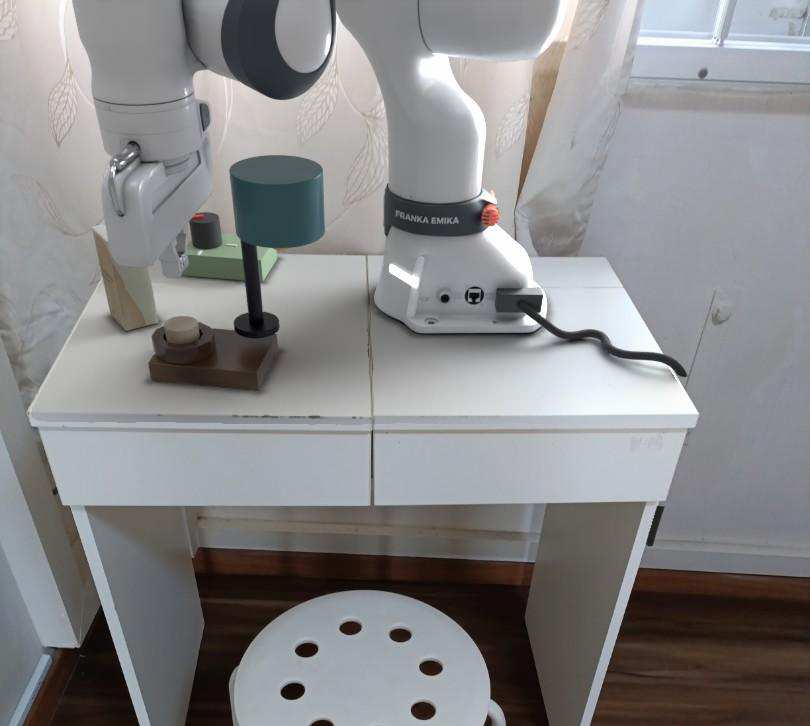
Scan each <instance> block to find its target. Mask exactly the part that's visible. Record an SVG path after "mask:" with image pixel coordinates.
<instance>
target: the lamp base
mask: <svg viewBox="0 0 810 726" xmlns="http://www.w3.org/2000/svg"><path fill="white" fill-rule="evenodd" d="M198 326H199V333H200V339H199V340H196V341H194V342H192V343H187V344H172V343H169V342H167V340H166V335H165V329H164V325H162V326H160V327H158V328H156V330H155V331H154V332H153V333H152V334H151V343H152V346H153V347H152V348H153V351H154V353H153V355H152V357H150V359H149V361H148V362H147V366H148V370H149V375H150V380H151V381H154V382H164V383H174V384H185V385H195V386H196V385H197V386H208V387H217V388H218V387H219V388H229V389H238V390H248V391H249V390H250V391H259V390H260V388H261V386H262V384H263V382H264V381H265V378H266V377H267V374H268V373H269V370H270V368H271V366H272V364H273V362H274V360H275V358H276V356H277V354H278V352H279V345H278V334H277V333H275V334H274V335H272V336H269V337H265V338H246V337H243V336H240V335H238V334H237V333H236V332H235V330H234V329H227V328H226V329H225V328H214V327H211V326H209V325H207V324H205V323H203V322H200V321H198Z"/></svg>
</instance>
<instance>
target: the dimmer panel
mask: <svg viewBox="0 0 810 726" xmlns="http://www.w3.org/2000/svg"><path fill="white" fill-rule="evenodd" d="M221 236H222V245H220V246H219V247H216V248H212V249H200V248H196V247H194V246H193V244H192V240H190V241H189V240H188V244H187V256H188V262H189V264H188V266H187V268H186V269H185V270H184V271H183V273H182V274H183V276H185V277H195V278H206V279H207V278H210V279H220V280H233V281H244V282H245V278H244V269H243V259H242V250H241V240H240V239H239V237H238V236H237V234H233V233H232V234H231V233H221ZM257 254H258V264H259V275H260V283H263V282H265V279H266V278H267V276H268V275H269V273H270V271H271V270H272V268H273V266H274V265H275V263H276V261H277V260H278V251H276V250H274V249H273V248H266V247H259V246H257Z"/></svg>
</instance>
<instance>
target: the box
mask: <svg viewBox="0 0 810 726" xmlns="http://www.w3.org/2000/svg"><path fill="white" fill-rule="evenodd" d="M91 232H92V235H93V240H94V245H95V249H96V254H97V258H98V264H99V267H100V272H101V276H102V281H103V286H104V290H105V296H106V299H107V304H108V309H109V314H110V316H111V317H112V319H114V320H115V322H116V323H117V324H118V325H119V326H120V327H121V328H123V330H125V331H126V332H129V331H132V330H136V329H139V328H144V327H147V326H151V325H155V324H158V323H159V318H158V310H157V306H156V299H155V295H154V294H155V293H154V289H153V288H154V287H153V283H152V278H151V277H152V276H151V272H150V267H132V266H123V265H119V264H118V263H117V262H116V261H115V260H114V259H113V257H112V255H111V252H110V248H109V243H108V238H107V232H106V227H105V223H104V224H98V225H94V226H91Z"/></svg>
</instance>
